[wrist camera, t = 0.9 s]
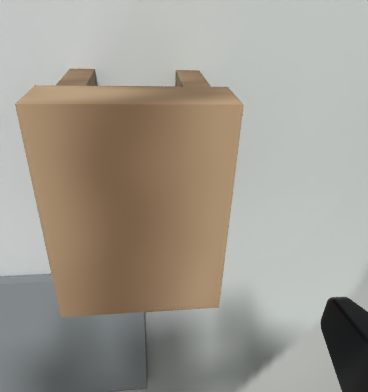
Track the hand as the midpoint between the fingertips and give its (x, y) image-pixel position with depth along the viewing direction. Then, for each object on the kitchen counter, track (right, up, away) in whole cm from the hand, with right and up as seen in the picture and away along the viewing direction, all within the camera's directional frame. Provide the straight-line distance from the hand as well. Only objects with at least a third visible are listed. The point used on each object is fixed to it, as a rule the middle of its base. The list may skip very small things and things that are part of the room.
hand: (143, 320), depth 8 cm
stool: (-1, +5, +8) cm, 10 cm away
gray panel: (-7, -6, +14) cm, 17 cm away
